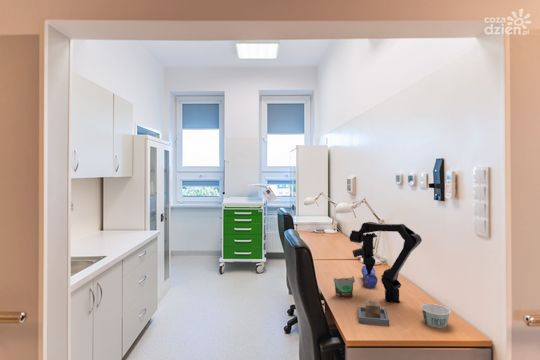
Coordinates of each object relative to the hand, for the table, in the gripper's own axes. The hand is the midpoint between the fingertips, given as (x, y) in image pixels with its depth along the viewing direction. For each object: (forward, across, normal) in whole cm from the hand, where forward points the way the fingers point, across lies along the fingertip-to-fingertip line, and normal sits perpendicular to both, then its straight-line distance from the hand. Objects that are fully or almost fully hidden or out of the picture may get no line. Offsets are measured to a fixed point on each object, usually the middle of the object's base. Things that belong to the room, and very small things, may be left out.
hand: (367, 272), depth 182 cm
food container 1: (+12, +7, -12) cm, 19 cm away
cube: (+11, +33, 0) cm, 34 cm away
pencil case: (+12, -20, +2) cm, 24 cm away
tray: (+12, +33, 0) cm, 35 cm away
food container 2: (+12, +32, +27) cm, 43 cm away
